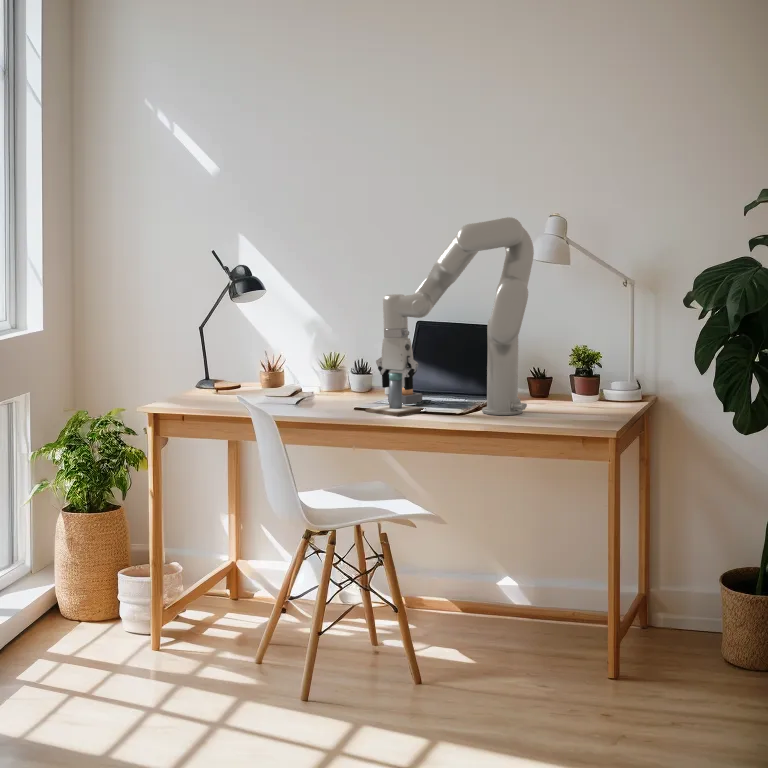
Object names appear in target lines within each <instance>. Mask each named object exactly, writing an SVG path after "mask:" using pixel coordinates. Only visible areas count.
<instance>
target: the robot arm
mask: <svg viewBox="0 0 768 768" xmlns="http://www.w3.org/2000/svg"><path fill="white" fill-rule="evenodd" d="M500 248H505V257H504V262H503V266H502V267H503V268H502V272H501V276H500V279H499V282H498V285H497V287H496V292H495V298H494V301H493V302H494V303H493V305H492V310H491V315H490V318H489V319H488V321H487V326H486V329H487V330H486V331H487V332H486V333H487V338H486V339H487V340H486V341H487V354H486V355H487V364H486V365H487V366H486V370H487V371H486V375H487V376H486V406H485V407H482V408H481V412H482V413H483V414H487V415H492V416H493V415H494V416H513V415H514V416H515V415H519V414H522V413H523V411H525V410H526V408H527V406H528V404H527V403H525V402H521V401H522V400H521V398H519V397H518V396H519V395H518V393H519V388H518V387H519V385H518V384H519V335H520V331H521V328H522V324H523V321H524V320H523V319H524V317H525V311H526V308H527V304H528V298H529V289H528V285H529V280H530V276H531V272H532V266H533V262H534V255H535V253H534V252H535V250H534V244H533V241H532V238H531V236H530V234H529V233H528V231H527V230H526V228H525V227H524V226H523V225H522V223H521V222H520V221H519V220H518V219H517V218H514V217H512V216H511V217H509V216H507V217H501V218H497V219H491V220H487V221H481V222H480V221H479V222H473V223H468V224H465V225H463V226H462V227H461V228H460V229H459V230H458V232H457V234H456V235H455V236H454V237H453V239H452V240H451V241H450V242H449V244H448V245H447V247H446V248H445V249H444V251H442V253H441V254H440V255H439V257H438V258H437V259H436V261H435V262H434V264H433V266H432V268H431V270H430V272H429V273H428V274H427V276H426V277H425V279H424V280H423V281H422V283H421V284H420V285H419V286H418V288H417V289H416V291H415V292H414V293H413V294H408V295H405V294H400V293H399V294H398V293H397V294H393V293H392V294H386V295H384V296H383V299H382V312H383V313H382V314H383V339H382V345H381V357H380V358H378V359H376V360H375V363H376V365H377V369H378V371H379V374H380V375H381V383H382V384H381V385H382V388H384V389H385V388H386V387H389V372H390V370H397V371H403V372H404V374H405V376H406V377H405V378H404V383H405V390H410V389H413V390H414V377H415V375H416V373H417V371H418V367H419V363H418V361H416V360H415V359H414V353H413V346H412V345H413V344H412V342H411V341H412V340H411V338H409V335H410V331H409V330H408V329H409V328H408V327H409V326H408V325H409V324H408V319H409V318H415V319H421V318H425V317H426V316H428V314H429V313H430V312H431V311H432V309H433V308H434V307H435V305H437V303H438V301H439V300H440V299H441V298H442V296H443V295H444V294H445V293H446V291H447V290H448V289H449V288H450V287H451V286H452V285H453V284H454V283H455V282H456V281H457V280H458V278H459V277H460V276H461V275H462V273H463V272H464V271H465V270H466V269H467V267H468V265H469V264H470V263H471V262H472V260H473V259H474V258H475V256H476V255H477V254H478V253H479V252H481V251H488V250H489V251H490V250H494V249H500Z"/></svg>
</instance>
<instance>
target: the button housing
mask: <svg viewBox="0 0 768 768" xmlns="http://www.w3.org/2000/svg"><path fill="white" fill-rule="evenodd" d="M421 401H422V402H423V393H419V392H413V395H407V396H404V395H402V403H403V404H412V403H417V402H421ZM388 402H389V394H388V395H387V403H388Z"/></svg>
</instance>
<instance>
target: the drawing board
mask: <svg viewBox="0 0 768 768" xmlns="http://www.w3.org/2000/svg"><path fill="white" fill-rule="evenodd" d="M424 408H425V407H420V408H419V407H418V406H405V405H402V408H400V409H392V408H389V405H388V404H385V405H379V406H374V407H373V406H372V407H367V408H365V412H366V413H370V414H371V413H372V414H379V415H386V416H390V417H402V416H408V415H414V414H420V411H421V410H423V409H424ZM425 409H426V410H427V408H425Z"/></svg>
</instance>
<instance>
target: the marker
mask: <svg viewBox="0 0 768 768" xmlns="http://www.w3.org/2000/svg"><path fill="white" fill-rule="evenodd" d="M389 408H392V409H400V408H402V373H398V372H393V373H389Z"/></svg>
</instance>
